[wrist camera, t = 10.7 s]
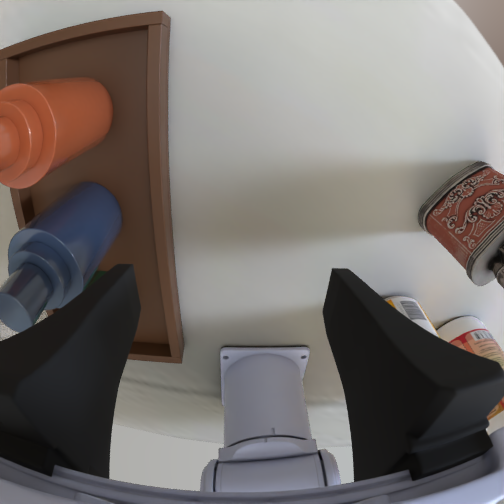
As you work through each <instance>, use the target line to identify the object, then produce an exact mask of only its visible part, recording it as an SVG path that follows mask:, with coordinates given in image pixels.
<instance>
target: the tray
mask: <svg viewBox="0 0 504 504" xmlns="http://www.w3.org/2000/svg"><path fill="white" fill-rule="evenodd" d="M169 37H170V17H169V16H168V15H167V14H166V13H165V12H163V11H157V12H148V13H140V14H132V15H126V16H120V17H114V18H108V19H103V20H98V21H93V22H89V23H84V24H80V25H76V26H72V27H68V28H64V29H61V30H57V31H53V32H50V33H47V34H43V35H40V36H37V37H34V38H31V39H28V40H25V41H22V42H20V43H17V44H14V45H12V46H9V47H6V48H4V49H1V50H0V90H2V89H3V88H5V87H7V86H9V85H12V84H17V83H23V82H31V81H38V80H47V79H57V78H68V77H90V78H93V79H95V80H97V81H99V82H100V83H101V84H102V85H103V86H104V87H105V88H106V89H107V91H108V93H109V95H110V97H111V100H112V104H113V120H112V124H111V127H110V130H109V132H108V134H107V135H106V137H105V138H104V139H103V141H102V142H101V143H100V144H98V145H97V146H96V147H94V148H93V149H91V150H89V151H87V152H86V153H84V154H82V155H80V156H79V157H77V158H75V159H74V160H72V161H70V162H69V163H67V164H66V165H64V166H62V167H61V168H59V169H58V170H56V171H54V172H53V173H51V174H50V175H48V176H47V177H45V178H44V179H42V180H41V181H39V182H38V183H36V184H34V185H33V186H31V187H28V188H23V189H15V188H11V187H10V191H11V196H12V201H13V205H14V210H15V214H16V218H17V222H18V226H19V230H20V229H22V228H23V227H24V226H25V225H26V224H27V223H28V222H29V221H30V220H32V219H33V218H34V217H35V216H36V215H37V214H38V213H40V212H41V211H42V210H43V209H44V208H45V207H47V206H48V205H49V204H50V203H51V202H53V201H54V200H55V199H56V198H57V197H59V196H60V195H61V194H62V193H64V192H65V191H66V190H67V189H69V188H70V187H71V186H73V185H75V184H77V183H80V182H94V183H97V184H100V185H102V186H103V187H105V188H106V189H108V190H109V191H110V192H111V193H112V194H113V195H114V197H115V198H116V199H117V201H118V203H119V205H120V208H121V211H122V217H123V223H122V229H121V232H120V234H119V236H118V237H117V239H116V240H115V242H114V243H113V245H112V246H111V248H110V249H109V251H108V253H107V254H106V256H105V257H104V259H103V260H102V262H101V264H100V265H99V267H98V268H97V270H96V271H109V270H110V269H111V268H112V267H114V266H115V265H117V264H133V266H134V272H135V278H136V283H137V289H138V294H139V299H140V304H141V312H140V317H139V322H138V327H137V331H136V334H135V337H134V340H133V343H132V346H131V349H130V352H129V355H128V358H127V359H131V360H141V361H153V362H166V363H182V358H183V352H184V340H183V332H182V324H181V316H180V307H179V299H178V289H177V279H176V269H175V258H174V246H173V233H172V218H171V201H170V181H169V153H168V63H169ZM59 309H60V308H55V309H52V310H46V312H47V315H48V316H50V315H52V314H53V313H55V312H56V311H58V310H59Z"/></svg>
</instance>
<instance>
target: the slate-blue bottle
mask: <svg viewBox="0 0 504 504" xmlns="http://www.w3.org/2000/svg"><path fill="white" fill-rule="evenodd" d="M122 223H123V217H122V211H121V208H120V205H119V203H118V201H117V199H116V198H115V197H114V195H113V194H112V193H111V192H110V191H109V190H108V189H106V188H105V187H103V186H102V185H100V184H97V183H94V182H80V183H77V184H75V185H73V186H71V187H70V188H69V189H67V190H66V191H65V192H64V193H62V194H61V195H60V196H59V197H57V198H56V199H55V200H54V201H53V202H51V203H50V204H49V205H48V206H47V207H45V208H44V209H43V210H42V211H41V212H40V213H38V214H37V215H36V216H35V217H34V218H33V219H32V220H30V221H29V222H28V223H27V224H26V225H25V226H24V227H23V228H22V229H20V230H19V231H18V232H17V233H16V234H15V235H14V236H13V238H12V240H11V242H10V244H9V249H8V260H9V265H8V273H9V278H8V279H7V280H6V281H5V282H4V284H3V285H2V286H1V287H0V320H1V321H2V322H3V323H4V324H5V325H6V326H8V327H9V328H10V329H12V330H14V331H16V332H19V333H20V332H22V331H24V330H26V329H28V328H29V327H31V326H33V325H35V323H36V321H37V320H38V318H39V317H40V315H41V313H42V312H43V310H52V309H55V308H62V307H63V306H65V305H66V304H67V303H68V302H70V301H71V300H72V299H74V298H75V297H76V296H78V295H79V294H80V293H82V292H83V291H84V290H85V288H86V287H87V285H88V283H89V282H90V280H91V278H92V277H93V275H94V273H95V272H96V270H97V268H98V267H99V265H100V264H101V262H102V260H103V259H104V257H105V256H106V254H107V253H108V251H109V249H110V248H111V246H112V245H113V243H114V242H115V240H116V239H117V237H118V236H119V234H120V232H121V229H122Z"/></svg>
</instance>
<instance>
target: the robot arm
mask: <svg viewBox="0 0 504 504" xmlns="http://www.w3.org/2000/svg"><path fill="white" fill-rule="evenodd" d="M140 312H141V304H140V299H139V294H138V289H137V283H136V278H135V272H134V266H133V264H117V265H115V266H114V267H112V268H111V269H110V270H109V271H107V272H106V273H105V274H104V275H102V276H101V277H100V278H99V279H98V280H96V281H95V282H94V283H93V284H91V285H90V286H89V287H88V288H87V289H85V290H84V291H83V292H82V293H80V294H79V295H78V296H76V297H75V298H74V299H72V300H71V301H70V302H68V303H67V304H66V305H65V306H63V307H62V308H60V309H59V310H58V311H56V312H55V313H53V314H52V315H50V316H48V317H47V318H45V319H44V320H42V321H40V322H39V323H37V324H35V325H33V326H31V327H29V328H28V329H26V330H24V331H22V332H20V333H18V334H16V335H14V336H12V337H10V338H8V339H5V340H3V341H0V504H496V503H498V502H500V501H501V500H503V499H504V427H502V428H500V429H498V430H496V431H494V432H493V433H491V434H490V435H488V433H487V431H486V428H488V427H489V424H490V423H489V421H488V419H487V416H488V414H489V413H490V412H491V411H492V410H493V409H494V408H495V407H496V405H497V404H498V403H499V402H500V401H501V400H502V398H503V397H504V370H503V369H502V367H501V365H500V364H499V362H497V361H494V360H491V359H488V358H485V357H482V356H479V355H476V354H473V353H471V352H468V351H466V350H464V349H461V348H459V347H457V346H455V345H453V344H451V343H449V342H447V341H445V340H443V339H441V338H439V337H437V336H436V335H434V334H432V333H430V332H429V331H427V330H425V329H424V328H422V327H421V326H419V325H418V324H416V323H415V322H413V321H412V320H410V319H409V318H407V317H406V316H405V315H403V314H402V313H401V312H399V311H398V310H397V309H395V308H394V307H393V306H392V305H390V304H389V303H388V302H387V301H385V300H384V299H383V298H382V297H381V296H380V295H378V294H377V293H376V292H375V291H374V290H373V289H371V288H370V287H369V286H368V285H367V284H366V283H365V282H363V281H362V280H361V279H360V278H359V277H358V276H356V275H355V274H354V273H353V272H352V271H350V270H349V269H338V268H332V272H331V276H330V281H329V286H328V290H327V294H326V299H325V303H324V308H323V317H324V323H325V328H326V334H327V337H328V340H329V344H330V347H331V350H332V353H333V356H334V359H335V362H336V365H337V369H338V372H339V375H340V378H341V381H342V385H343V389H344V393H345V399H346V404H347V410H348V417H349V424H350V431H351V440H352V451H353V467H354V482H352V483H346V484H341V480H340V475H339V470H338V466H337V462H336V460H335V457H334V456H333V455H332V454H331V453H330V452H328V451H327V450H326V449H321V450H317V444H316V440H315V439H312V436H311V430H310V424H309V419H308V413H307V407H306V401H305V396H304V390H303V385H302V381H303V377H304V374H305V370H306V366H307V362H308V358H309V355H310V350H309V348H307V347H282V348H235V347H224V348H222V349H221V350H220V365H221V393H222V405H223V406H225V407H224V448H219V458H218V460H217V459H213V460H211V461H210V462H209V463H208V465H207V466H206V467H205V468H204V470H203V472H202V476H201V487H200V491H189V490H177V489H168V488H160V487H152V486H145V485H139V484H132V483H127V482H121V481H116V480H111V479H109V462H110V444H111V433H112V424H113V416H114V409H115V403H116V398H117V392H118V387H119V383H120V379H121V376H122V373H123V370H124V367H125V364H126V361H127V358H128V355H129V352H130V349H131V346H132V343H133V340H134V337H135V334H136V331H137V327H138V322H139V317H140ZM303 355H304V356H303Z"/></svg>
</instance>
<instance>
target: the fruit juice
mask: <svg viewBox="0 0 504 504" xmlns="http://www.w3.org/2000/svg"><path fill="white" fill-rule="evenodd" d="M437 333H438V335H439V336H440V338H441V339H443V340H445V341H447V342H449V343H451V344H453V345H455V346H457V347H459V348H461V349H464V350H466V351H468V352H471V353H473V354H476V355H479V356H482V357H485V358H488V359H491V360H494V361H497V362H499V364H500V365H501V367H502V369H503V370H504V352H503V351H502V349H501V348H500V346H499V345H498V344H497V342H496V341H495V339H494V338H493V336H492V335H491V333H490V332H489V331H488V329H487V328H486V326H485V325H484V324H483V323H482V322H481V321H480V320H479V319H477V318H475V317H472V316H465V317H460V318H457V319H455V320H452V321H450V322H449V323H447V324H445V325H444V326H442V327H441V328H439V329H438V330H437ZM487 419H488V421H489V423H490V424H489V427H488V428H487V433H488V435H490V434H491V433H493V432H494V431H496V430H498V429H500V428H502V427H504V397H503V398H502V400H501V401H500V402H499V403H498V404H497V405H496V407H495V408H494V409H493V410H492V411H491V412H490V413H489V414H488V416H487ZM496 504H504V499H503V500H501V501H500V502H498V503H496Z"/></svg>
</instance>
